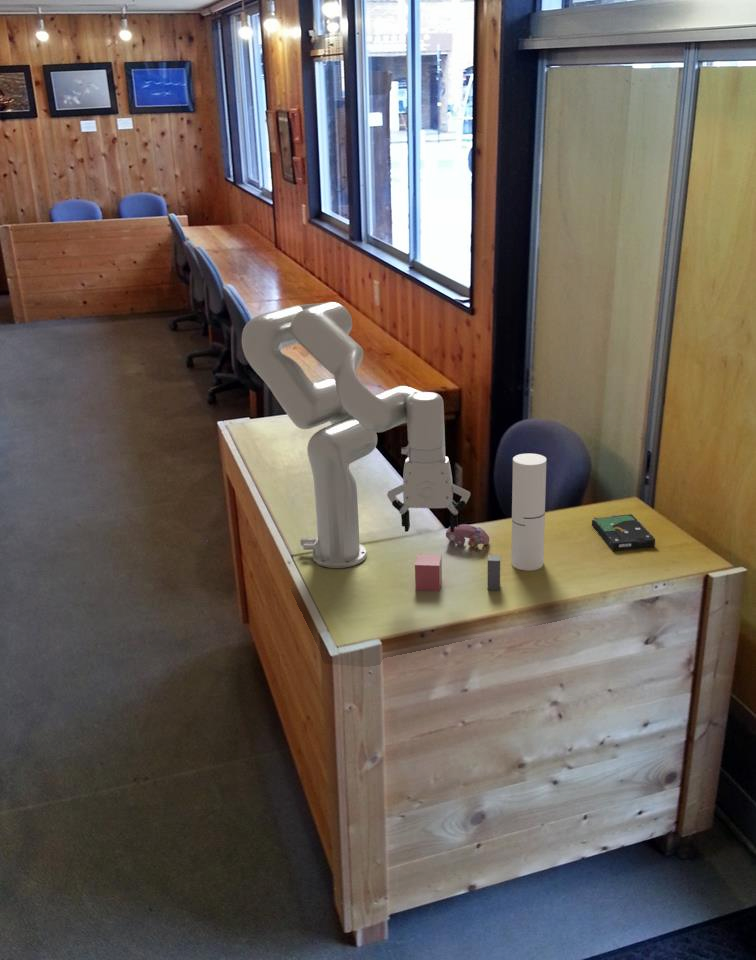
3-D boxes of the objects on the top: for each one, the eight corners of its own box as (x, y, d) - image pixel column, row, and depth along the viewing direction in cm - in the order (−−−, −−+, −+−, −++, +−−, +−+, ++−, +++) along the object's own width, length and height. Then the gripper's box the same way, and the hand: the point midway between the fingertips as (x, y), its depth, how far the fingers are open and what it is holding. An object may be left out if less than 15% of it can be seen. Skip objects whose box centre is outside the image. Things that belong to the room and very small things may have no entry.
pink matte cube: (415, 590, 199) (414, 564, 197) (418, 578, 204) (417, 554, 202) (439, 590, 199) (439, 565, 196) (441, 579, 203) (441, 554, 201)
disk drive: (655, 550, 214) (630, 523, 228) (656, 539, 213) (631, 513, 227) (612, 554, 213) (590, 527, 227) (613, 543, 212) (590, 516, 226)
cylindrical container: (542, 571, 205) (545, 465, 196) (510, 569, 207) (511, 464, 198) (543, 557, 212) (547, 453, 203) (512, 555, 213) (514, 452, 204)
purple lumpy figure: (446, 550, 221) (442, 531, 216) (451, 535, 224) (447, 516, 218) (487, 555, 217) (484, 536, 212) (491, 539, 220) (488, 521, 215)
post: (487, 589, 198) (487, 560, 196) (488, 584, 201) (488, 555, 198) (499, 590, 198) (500, 560, 195) (500, 584, 200) (500, 555, 198)
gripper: (382, 459, 188) (386, 536, 194) (468, 459, 185) (469, 537, 191) (387, 447, 195) (391, 522, 201) (470, 446, 192) (472, 522, 198)
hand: (429, 529), depth 196 cm, fingers open, 9 cm apart
